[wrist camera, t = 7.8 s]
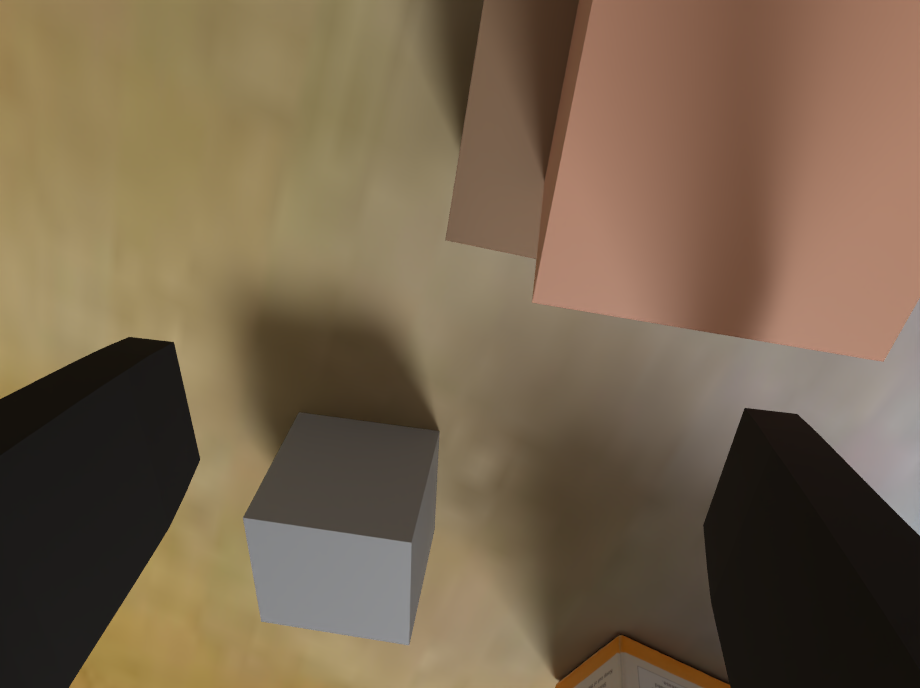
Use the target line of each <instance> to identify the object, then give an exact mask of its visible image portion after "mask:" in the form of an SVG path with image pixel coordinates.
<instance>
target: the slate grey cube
mask: <svg viewBox="0 0 920 688" xmlns="http://www.w3.org/2000/svg"><path fill="white" fill-rule="evenodd" d="M438 449H439V431H434V430H427V429H420V428H412V427H405V426H397V425H390V424H382V423H375V422H367V421H360V420H353V419H345V418H338V417H330V416H323V415H315V414H308V413H301V412H299V413H298V415H297V417H296V419H295V421H294V423H293V424H292V426H291V428H290V430H289V432H288V434H287V436H286V438H285V440H284V441H283V443H282V445H281V447H280V449H279V451H278V453H277V455H276V457H275V458H274V460H273V462H272V464H271V466H270V468H269V470H268V472H267V474H266V475H265V477H264V479H263V481H262V483H261V485H260V487H259V489H258V491H257V492H256V494H255V496H254V498H253V500H252V502H251V504H250V506H249V508H248V509H247V511H246V513H245V515H244V517H243V520H244V526H245V532H246V537H247V543H248V549H249V554H250V560H251V566H252V571H253V577H254V583H255V588H256V594H257V600H258V605H259V611H260V617H261V622H268V623H274V624H280V625H286V626H292V627H299V628H305V629H311V630H317V631H323V632H330V633H336V634H342V635H348V636H354V637H361V638H367V639H373V640H379V641H386V642H392V643H398V644H404V645H409V644H410V639H411V635H412V630H413V626H414V621H415V616H416V612H417V607H418V603H419V598H420V594H421V589H422V584H423V580H424V575H425V571H426V566H427V562H428V557H429V552H430V548H431V543H432V539H433V534H434V529H435V509H436V489H437V469H438Z"/></svg>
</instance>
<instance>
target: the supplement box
mask: <svg viewBox="0 0 920 688" xmlns="http://www.w3.org/2000/svg"><path fill="white" fill-rule="evenodd" d="M555 688H731V687H730V685H729V684H727V683H724V682H722V681H720V680H718V679H715V678H713V677H711V676H709V675H707V674H705V673H703V672H701V671H699V670H696V669H694V668H692V667H690V666H688V665H685V664H683V663H681V662H679V661H677V660H675V659H673V658H671V657H669V656H666V655H664V654H661V653H659V652H658V651H656V650H653V649H651V648H649V647H647V646H645V645H642V644H640V643H639V642H637V641H634V640H632V639H630V638H628V637H626V636H623V635H619V636H618V637H616V638H615V639H614V640H612V641H611V642H610V643H608V644H607V645H606V646H604V647H603V648H600V649H599V650H598V652H597V653H595V654H593V655H592V656H591V657H590V658H589V659H588V660H586V661H584V663H583V664H581V665H580V666H579V667H578V668H576V669H575V670H574V671H572V672H571V673H570V674H569V675H567V676H566V677H564V678H563V679H562V680H561V681H559V682H558V683H557V684H556V687H555Z"/></svg>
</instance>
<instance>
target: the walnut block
mask: <svg viewBox="0 0 920 688" xmlns="http://www.w3.org/2000/svg"><path fill="white" fill-rule="evenodd" d="M578 3H579V0H484V3H483V9H482V16H481V22H480V28H479V34H478V41H477V47H476V53H475V59H474V65H473V72H472V78H471V84H470V90H469V97H468V103H467V109H466V115H465V121H464V128H463V134H462V140H461V146H460V152H459V159H458V165H457V171H456V177H455V184H454V190H453V196H452V202H451V208H450V215H449V221H448V227H447V233H446V240H447V241H452V242H457V243H462V244H467V245H471V246H476V247H481V248H486V249H491V250H496V251H500V252H505V253H510V254H515V255H520V256H525V257H530V258H534V259H537V250H538V240H539V230H540V220H541V210H542V200H543V190H544V181H545V176H546V171H547V166H548V160H549V155H550V150H551V145H552V139H553V134H554V129H555V124H556V118H557V113H558V108H559V102H560V97H561V92H562V87H563V81H564V76H565V71H566V66H567V60H568V55H569V50H570V45H571V39H572V34H573V29H574V24H575V18H576V13H577V8H578Z"/></svg>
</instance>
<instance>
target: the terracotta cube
mask: <svg viewBox="0 0 920 688" xmlns="http://www.w3.org/2000/svg"><path fill="white" fill-rule="evenodd" d="M919 298H920V0H579V3H578V8H577V13H576V18H575V24H574V29H573V34H572V39H571V45H570V50H569V55H568V60H567V66H566V71H565V76H564V81H563V87H562V92H561V97H560V102H559V108H558V113H557V118H556V124H555V129H554V134H553V139H552V145H551V150H550V155H549V160H548V166H547V171H546V176H545V181H544V190H543V200H542V210H541V220H540V230H539V240H538V250H537V260H536V270H535V280H534V290H533V300H532V303H538V304H544V305H550V306H556V307H562V308H568V309H574V310H579V311H585V312H591V313H597V314H603V315H609V316H615V317H621V318H627V319H633V320H639V321H645V322H651V323H657V324H663V325H669V326H674V327H680V328H686V329H692V330H698V331H704V332H710V333H716V334H722V335H728V336H734V337H740V338H746V339H752V340H758V341H764V342H769V343H775V344H781V345H787V346H793V347H799V348H805V349H811V350H817V351H823V352H829V353H835V354H841V355H847V356H853V357H859V358H865V359H870V360H876V361H882V362H884V360H885V358H886V356H887V355H888V353H889V351H890V349H891V348H892V346H893V344H894V342H895V340H896V339H897V337H898V335H899V333H900V332H901V330H902V328H903V326H904V324H905V323H906V321H907V319H908V317H909V316H910V314H911V312H912V310H913V309H914V307H915V305H916V303H917V301H918V300H919Z"/></svg>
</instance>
